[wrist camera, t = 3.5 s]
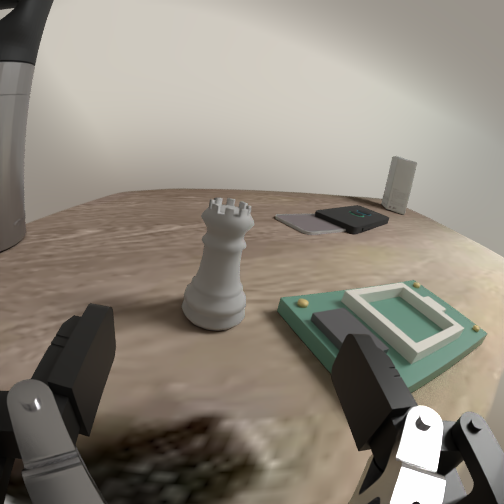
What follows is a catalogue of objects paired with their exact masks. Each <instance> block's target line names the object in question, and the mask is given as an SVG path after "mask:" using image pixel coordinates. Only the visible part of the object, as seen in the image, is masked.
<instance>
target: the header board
mask: <svg viewBox="0 0 504 504" xmlns="http://www.w3.org/2000/svg"><path fill="white" fill-rule="evenodd" d="M277 311H278V313H279V314H280V315H281V316H282V317H283V318H284V320H285V321H286V322H287V323H288V324H289V325H290V327H291V328H292V329H293V330H294V331H295V333H296V334H297V335H298V336H299V337H300V338H301V340H302V341H303V342H304V343H305V344H306V345H307V347H308V348H309V349H310V350H311V351H312V352H313V354H314V355H315V356H316V357H317V358H318V359H319V360H320V362H321V363H322V364H323V365H324V366H325V367H326V369H327V370H328V371H329V372H330V373H331V370H332V366H333V363H334V361H335V359H336V357H337V354H338V352H339V350H340V348H341V346H342V344H343V341H344V339H345V337H346V336H347V335H348V334H368V335H370V336H371V338H372V339H373V341H374V343H375V344H376V346H377V348H380V349H381V350H382V351H383V352H385V353H386V354H387V355H388V356H389V357H390V359H391V360H392V362H393V364H394V365H395V369H397V370H398V372H399V374H400V377H402V379H403V380H404V382H405V384H406V386H407V387H408V389H409V391H410V392H411V393H412V392H414V391H416V390H417V389H419V388H420V387H422V386H424V385H425V384H427V383H428V382H430V381H431V380H433V379H434V378H436V377H437V376H439V375H440V374H442V373H443V372H445V371H446V370H447V369H449V368H450V367H452V366H453V365H454V364H456V363H457V362H458V361H460V360H461V359H463V358H464V357H465V356H466V355H468V354H469V353H470V352H472V351H473V350H474V349H476V348H477V347H478V346H479V345H481V344H482V342H483V341H484V339H485V337H486V335H487V333H486V332H485V331H483V330H482V329H481V328H480V327H478V326H477V325H476V324H474V323H473V322H472V321H470V320H469V319H468V318H466V317H465V316H464V315H462V314H461V313H460V312H458V311H457V310H455V309H454V308H453V307H451V306H450V305H449V304H447V303H446V302H444V301H443V300H442V299H440V298H439V297H437V296H436V295H435V294H433V293H432V292H430V291H429V290H427V289H426V288H425V287H423V286H422V285H420V284H419V283H417V282H416V281H414V280H412V281H405V282H399V283H392V284H386V285H379V286H372V287H365V288H357V289H350V290H342V291H334V292H326V293H318V294H310V295H301V296H292V297H283V298H281V299H280V302H279V306H278V309H277Z"/></svg>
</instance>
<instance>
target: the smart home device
mask: <svg viewBox="0 0 504 504" xmlns="http://www.w3.org/2000/svg"><path fill="white" fill-rule="evenodd" d="M315 217H317V218H320V219H322V220H325V221H327V222H330V223H332V224H334V225H337V226H339V227H342V228H344V229H346V232H348V233H350V234H358V233H361V232H364V231H367V230H370V229H373V228H376V227H379V226H382V225H385V224H387V223H388V220H389V217H387V216H384V215H382V214H379V213H377V212H374V211H372V210H369V209H367V208H364V207H362V206H358V205H356V206H348V207H340V208H332V209H324V210H317V211H316V213H315Z"/></svg>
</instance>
